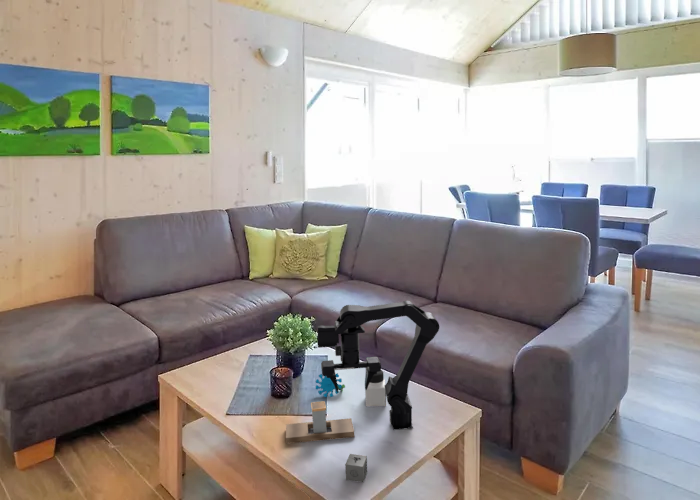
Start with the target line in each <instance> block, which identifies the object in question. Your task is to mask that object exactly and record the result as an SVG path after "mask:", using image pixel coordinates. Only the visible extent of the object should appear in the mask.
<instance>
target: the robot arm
mask: <svg viewBox="0 0 700 500" xmlns="http://www.w3.org/2000/svg"><path fill="white" fill-rule="evenodd" d="M412 302H413V301H410V300H404V301H400V302H393V303H391V302H390V303H385V304H378V305H377V304H376V305H369V306H363V305H359V304H346V305H344V306H342V308H341V309H340V311H339V316H338V317H337V318H336V320H335V321H334V325H317V348H334V350H335V351H334V354H335V356H336V357H340V363H334V360H333V359H330V360H322V361H321V362H320V366H321V367H320V368H321V374H322V377H325V376H326V377H327V378H330V379H331V381H332V382H333V384H334V386H335V389H336V391H337V392H338V391H339V390H338V385H337V384H338V381H337V380H336V379H337V377H336V374H337V373H336V371H340V370H351V369H352V370H354V369H365V376H364V391H365V390H367V388H368V385H369V383H370V381H371V379H372V377H373V376H374V374H377V372H380V371H381V370H382V364H381V361H380V359H379V357H377V356H369V357H366V359H365V360H366V361H360V360H361V359H360V334H364V333H365V332H366V331H365V327H364V326H363V325H364V324H366V323H368V322H371V321H379V320H380V321H381V320H387V319H392V318H393V319H394V318H400V317H407V318H409V319H410V321H412V322H413V323H414V324H415V329H414V330H415V331H414V337H413V339H412V341H411V343H410V346H409V348H408V350H407V352H406V354H405V356H404V358H403V360H402V362H401V364H400V367H399V370H398V372H397V373H396V375H395V376H393V377H392V376H388V378H387V382H386V383H385V393H386V402H387V404H388V406H390V410H388V411H389V413H388V414H389V423H390V425H391V426H392V428H393V430H394V431H396V430H404V428H407V429H413V428H414V425H413V423H412V421H413V419H412V418H413V417H412V416H413V414H412V409H413V407H412V403H411V400H410V397H409V394H408V390H409V383H410V380H411V378H412V377H413V375H414V372H415V370H416V368H417V366H418V364H419V361H420V359H421V357H422V355H423V353H424V351H425V348H426V346H427V345H428V344H429V343H430V342H431V341H432V340H433V339H434V338H435V337H436V336H437V334H438V333H439V330H440V323H439V321H438V320H437V318H436V316H435V315H434V314H433V313H431V312H430V311H429V312H428V311H425V310H423V309H422V308H420V307H419V306H417V305H415V304H414V303H412ZM339 336H340V339H339ZM338 344H340V345H338ZM335 389H334V390H335Z"/></svg>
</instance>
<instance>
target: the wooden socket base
mask: <svg viewBox="0 0 700 500" xmlns="http://www.w3.org/2000/svg"><path fill="white" fill-rule="evenodd" d="M328 428H330V431H328V432H327V431H326V432H325V433H315V434H314V433H309V430H313V421H309V422H307V421H306V422H297V423H286V424H285V443H286V444H297V443H298V444H299V443H306V442H308V443H309V442H318V441H329V440H340V439H349V438H350V439H351V438H355V428H354V424H353V421H352V418H351V417H349V418H340V419H330V420H329V419H328V420H327V419H326V429H328Z"/></svg>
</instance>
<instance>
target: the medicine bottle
mask: <svg viewBox="0 0 700 500" xmlns="http://www.w3.org/2000/svg"><path fill="white" fill-rule="evenodd" d="M384 376H385V375H384V371H383V370H382V369H381V371H380V372H377V374H374V376H373V377H372V379H371V381H370V383H369V385H368V388H367V390H365V389H364V391H365V392H364V393H365V394H364V395H365V407H366V408H367V407H373V408H374V407H386V406H387V397H386V393H385V385H386V380H385V378H384Z"/></svg>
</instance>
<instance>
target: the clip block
mask: <svg viewBox="0 0 700 500" xmlns="http://www.w3.org/2000/svg"><path fill="white" fill-rule="evenodd" d="M310 406H311V416H312V418H311V419H312V422H313V429H312V432H313V433H312V434H315V433H325V432H327V428H326V421H327V417H326V415H327V414H326V411H327V407H326V402H325V400H324V401H313V402H310Z"/></svg>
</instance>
